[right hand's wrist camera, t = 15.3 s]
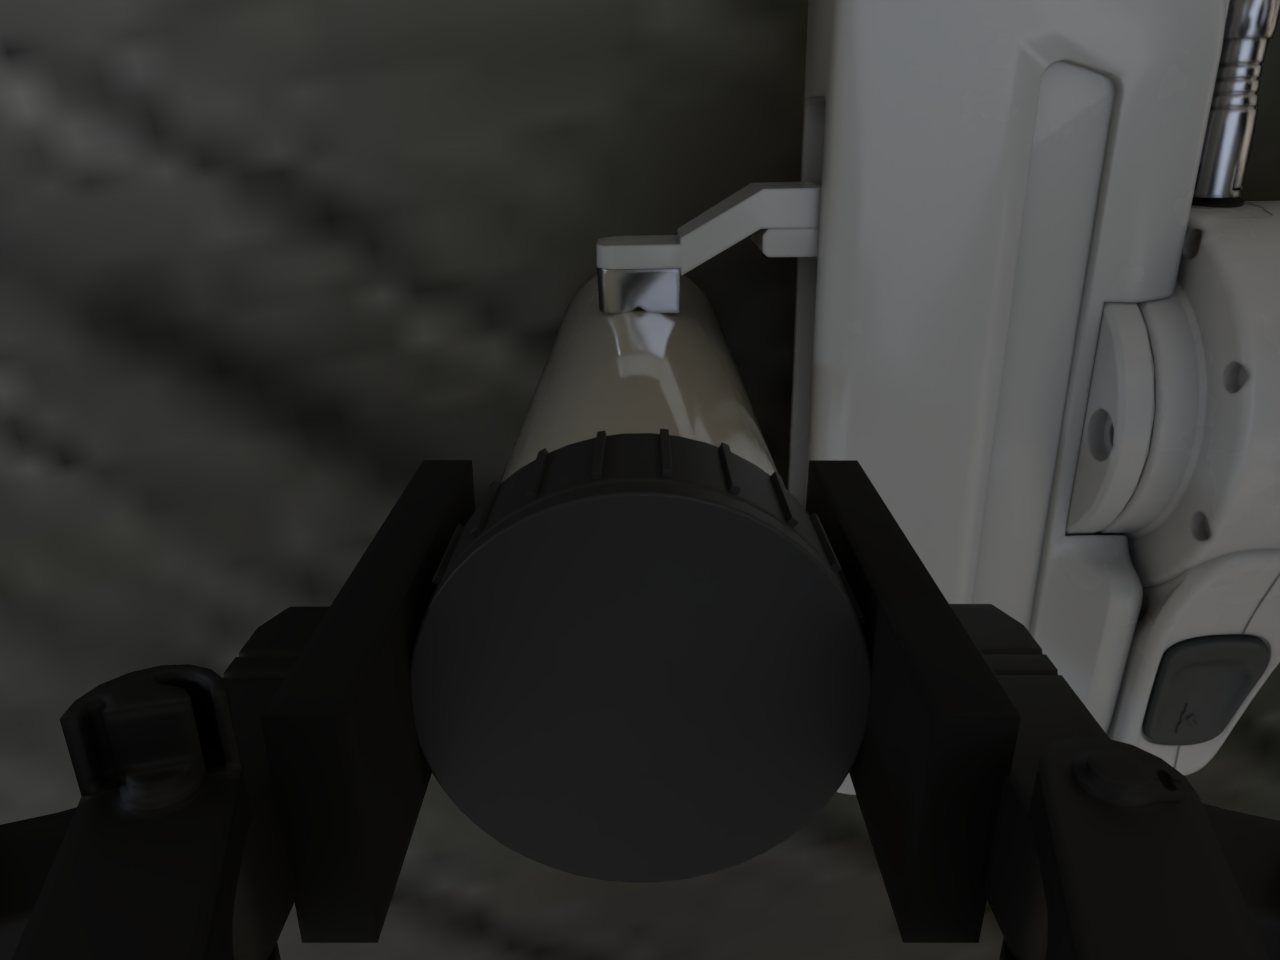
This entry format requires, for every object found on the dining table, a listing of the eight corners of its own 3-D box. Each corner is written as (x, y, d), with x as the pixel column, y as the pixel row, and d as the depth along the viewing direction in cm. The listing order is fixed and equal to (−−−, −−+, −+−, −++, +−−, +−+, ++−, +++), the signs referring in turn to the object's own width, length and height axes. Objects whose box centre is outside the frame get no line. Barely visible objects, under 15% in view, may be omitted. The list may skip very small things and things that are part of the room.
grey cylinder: (621, 449, 29) (598, 882, 12) (527, 324, 27) (358, 630, 11) (751, 363, 27) (911, 710, 11) (660, 228, 26) (694, 406, 10)
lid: (915, 659, 12) (964, 755, 11) (594, 836, 14) (586, 951, 12) (699, 340, 11) (711, 386, 9) (353, 573, 12) (300, 656, 10)
